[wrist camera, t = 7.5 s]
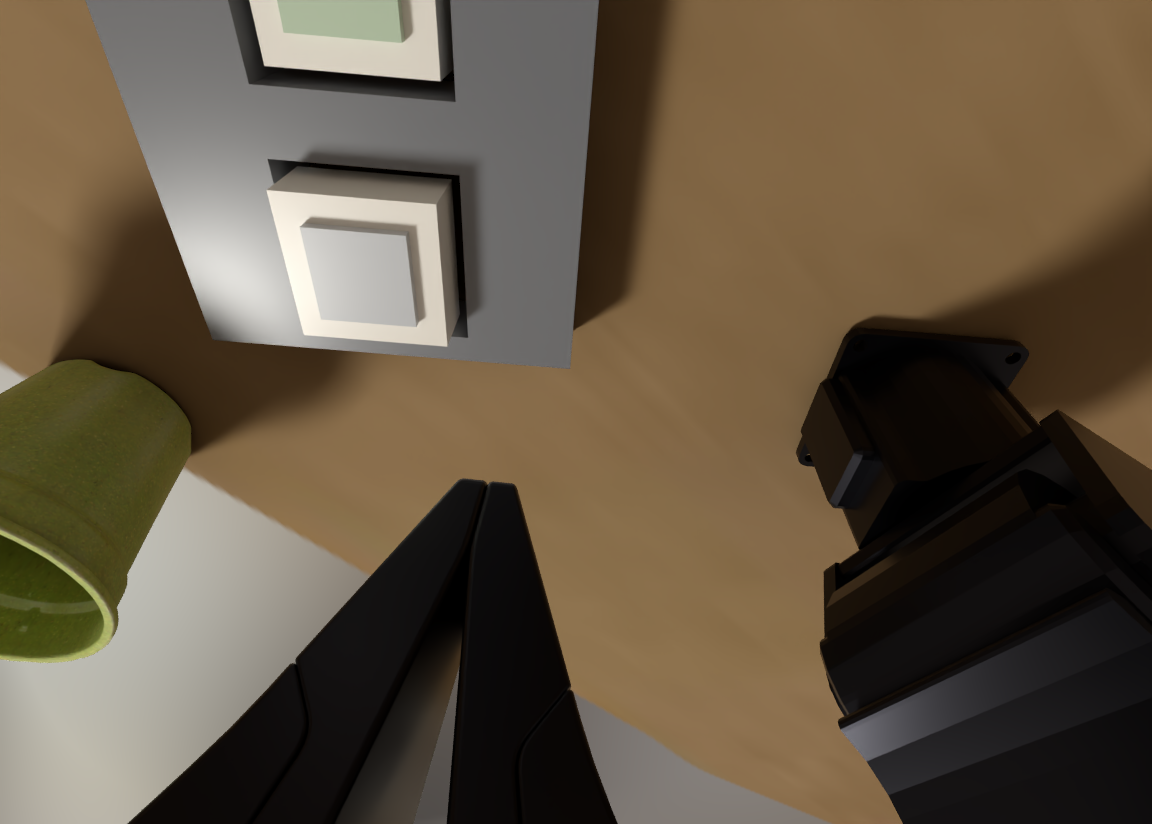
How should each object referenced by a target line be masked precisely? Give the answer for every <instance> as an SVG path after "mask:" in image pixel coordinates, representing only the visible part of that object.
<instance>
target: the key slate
mask: <svg viewBox="0 0 1152 824" xmlns="http://www.w3.org/2000/svg"><path fill="white" fill-rule="evenodd" d="M266 191H267V195H268V198H269V202H270V206H271V210H272V214H273V218H274V222H275V225H276V229H277V233H278V237H279V241H280V245H281V249H282V253H283V256H284V260H285V264H286V268H287V272H288V276H289V280H290V283H291V287H292V291H293V295H294V299H295V303H296V307H297V311H298V314H299V318H300V322H301V326H302V330H303V334H304V335H309V336H322V337H334V338H346V339H359V340H371V341H383V342H396V343H408V344H420V345H432V346H445V347H448V344H449V341H450V339H451V336H452V334H453V331H454V328H455V326H456V323H457V320H458V318H459V315H460V307H459V291H458V274H457V258H456V241H455V225H454V209H453V192H452V179H441V178H430V177H418V176H406V175H394V174H383V173H371V172H359V171H348V170H336V169H324V168H312V167H301V166H297V167H296V168H295V169H293V170H292V171H291V172H289V173H288V174H287V175H285V176H284V177H283V178H282V179H280V180H279V181H278V182H276V183H275V184H274V185H272V186H271V187H270V188H268V189H267V190H266Z"/></svg>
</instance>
